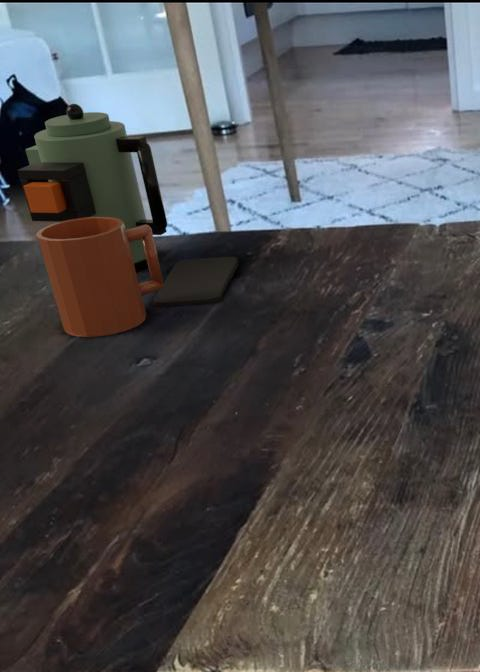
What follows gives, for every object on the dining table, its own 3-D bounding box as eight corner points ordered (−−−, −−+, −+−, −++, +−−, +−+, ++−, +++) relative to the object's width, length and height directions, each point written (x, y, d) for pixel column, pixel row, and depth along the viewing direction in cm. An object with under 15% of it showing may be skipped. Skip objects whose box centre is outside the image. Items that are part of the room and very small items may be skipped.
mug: (93, 347, 112) (64, 245, 106) (50, 331, 117) (20, 232, 111) (191, 312, 119) (169, 214, 113) (146, 298, 124) (123, 204, 118)
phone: (149, 303, 120) (176, 260, 132) (151, 311, 120) (178, 267, 132) (218, 298, 119) (239, 255, 131) (220, 306, 120) (240, 262, 132)
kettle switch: (30, 212, 123) (23, 185, 122) (40, 208, 125) (33, 181, 123) (58, 213, 122) (51, 186, 121) (67, 208, 124) (60, 181, 122)
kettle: (20, 285, 131) (-30, 120, 120) (87, 250, 141) (45, 95, 131) (138, 289, 127) (96, 119, 116) (197, 253, 137) (164, 93, 126)
